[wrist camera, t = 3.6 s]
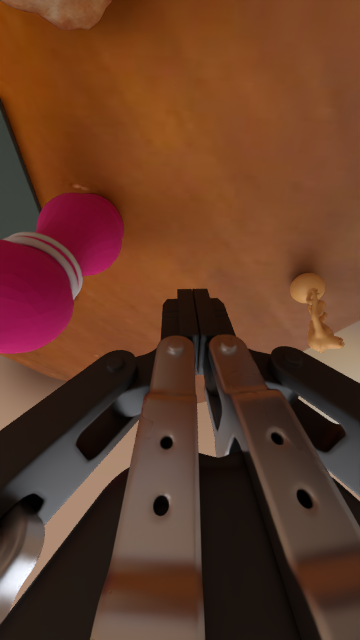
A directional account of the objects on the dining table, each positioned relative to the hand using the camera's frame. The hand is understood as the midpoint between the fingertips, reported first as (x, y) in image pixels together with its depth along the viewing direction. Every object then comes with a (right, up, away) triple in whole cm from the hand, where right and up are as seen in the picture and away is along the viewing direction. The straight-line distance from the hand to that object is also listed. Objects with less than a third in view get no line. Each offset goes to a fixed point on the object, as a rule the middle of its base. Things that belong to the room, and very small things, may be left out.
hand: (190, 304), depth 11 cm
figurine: (+15, +4, +19) cm, 24 cm away
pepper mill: (-10, +10, +13) cm, 19 cm away
